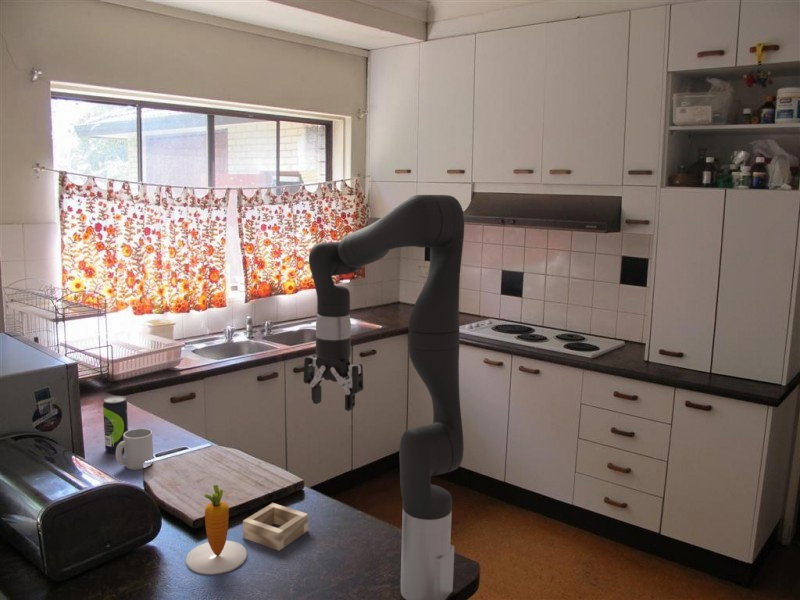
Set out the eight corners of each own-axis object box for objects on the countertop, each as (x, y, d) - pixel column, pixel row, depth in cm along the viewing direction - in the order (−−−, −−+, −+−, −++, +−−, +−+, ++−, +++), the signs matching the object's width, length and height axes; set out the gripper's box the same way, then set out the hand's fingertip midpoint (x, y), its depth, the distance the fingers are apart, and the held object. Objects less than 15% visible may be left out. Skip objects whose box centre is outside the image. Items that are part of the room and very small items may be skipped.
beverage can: (129, 452, 197) (127, 401, 194) (105, 455, 194) (102, 403, 192) (128, 444, 202) (126, 394, 200) (105, 447, 200) (102, 396, 197)
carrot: (223, 563, 141) (222, 494, 139) (201, 560, 142) (199, 491, 139) (234, 550, 146) (232, 483, 143) (211, 547, 147) (210, 480, 144)
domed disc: (258, 553, 146) (258, 550, 146) (217, 581, 136) (217, 578, 136) (216, 537, 152) (216, 535, 152) (173, 563, 142) (173, 560, 142)
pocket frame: (307, 530, 156) (307, 513, 155) (279, 550, 148) (279, 533, 147) (272, 519, 161) (272, 502, 160) (243, 537, 152) (242, 520, 152)
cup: (158, 464, 189) (157, 433, 188) (123, 475, 182) (121, 443, 180) (144, 457, 194) (143, 426, 192) (109, 467, 186) (108, 436, 185)
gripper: (370, 335, 151) (369, 407, 154) (316, 327, 158) (316, 396, 161) (351, 342, 145) (350, 417, 147) (296, 333, 151) (296, 405, 154)
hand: (332, 406), depth 154 cm, fingers open, 8 cm apart
